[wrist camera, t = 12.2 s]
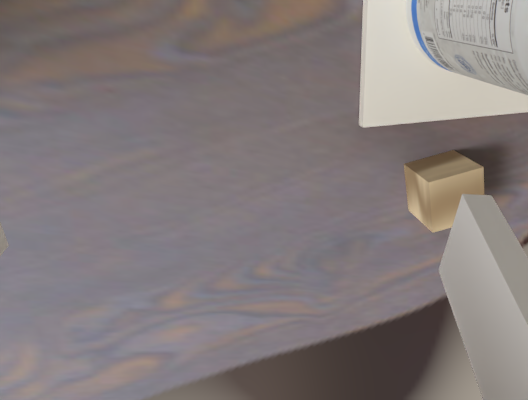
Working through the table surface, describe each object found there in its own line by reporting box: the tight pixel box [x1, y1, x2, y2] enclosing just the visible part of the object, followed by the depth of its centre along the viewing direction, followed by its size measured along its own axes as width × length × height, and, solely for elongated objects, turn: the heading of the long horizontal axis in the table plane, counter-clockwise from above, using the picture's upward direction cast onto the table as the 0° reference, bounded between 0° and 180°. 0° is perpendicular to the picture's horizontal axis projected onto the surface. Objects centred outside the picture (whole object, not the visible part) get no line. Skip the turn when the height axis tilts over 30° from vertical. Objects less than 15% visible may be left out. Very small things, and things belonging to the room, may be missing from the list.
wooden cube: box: [404, 150, 484, 232], centre depth 35 cm, size 4×4×4 cm
